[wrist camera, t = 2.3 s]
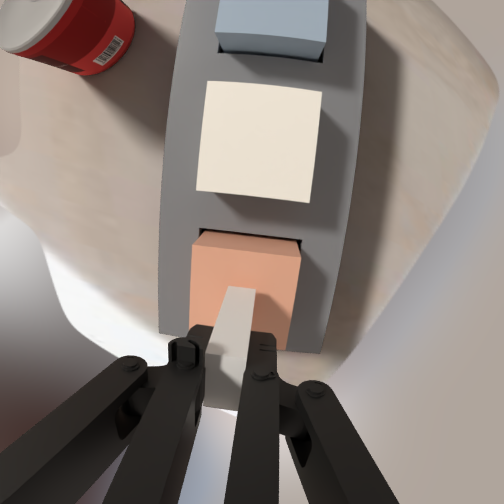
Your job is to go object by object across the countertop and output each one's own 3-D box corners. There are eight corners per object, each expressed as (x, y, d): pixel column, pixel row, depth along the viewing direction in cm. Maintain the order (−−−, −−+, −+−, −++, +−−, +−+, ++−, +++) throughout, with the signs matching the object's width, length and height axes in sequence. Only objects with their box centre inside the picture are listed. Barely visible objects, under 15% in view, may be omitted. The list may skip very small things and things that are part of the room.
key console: (210, -6, 21) (195, -41, 15) (349, 7, 20) (366, -25, 15) (179, 300, 29) (159, 333, 23) (311, 316, 28) (320, 353, 22)
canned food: (144, -2, 21) (89, -59, 10) (130, 72, 23) (58, 36, 13) (77, 12, 21) (11, -26, 11) (63, 82, 23) (-17, 63, 13)
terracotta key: (209, 226, 22) (192, 244, 18) (295, 236, 22) (301, 257, 17) (204, 304, 24) (188, 337, 19) (283, 313, 24) (285, 350, 19)
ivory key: (221, 98, 20) (207, 80, 15) (310, 107, 20) (321, 92, 15) (212, 183, 22) (195, 190, 17) (300, 193, 21) (309, 203, 17)
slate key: (237, -10, 17) (228, -45, 12) (319, -2, 17) (329, -36, 12) (226, 58, 19) (214, 32, 14) (314, 67, 19) (326, 42, 14)
